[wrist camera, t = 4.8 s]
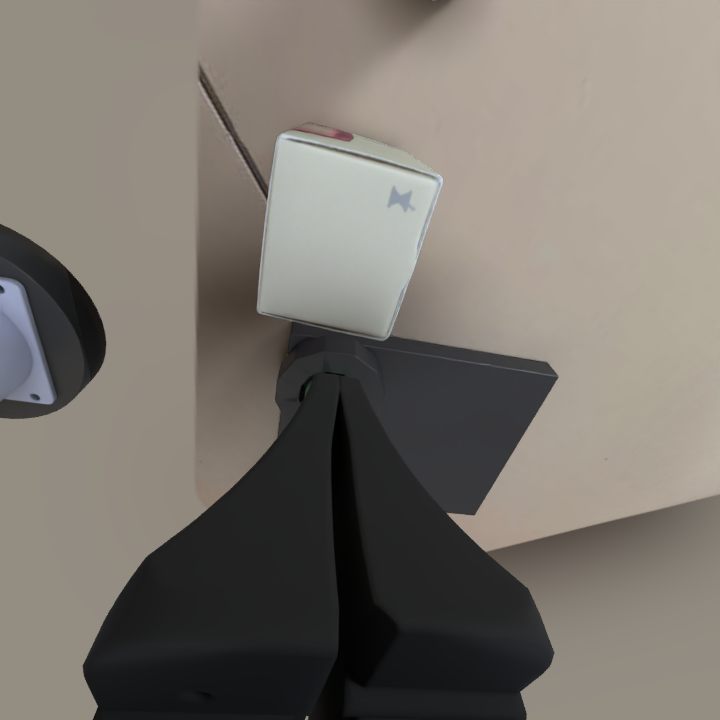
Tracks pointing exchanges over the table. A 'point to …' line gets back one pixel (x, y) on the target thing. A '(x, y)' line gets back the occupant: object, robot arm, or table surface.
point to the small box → (342, 230)
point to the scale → (428, 403)
